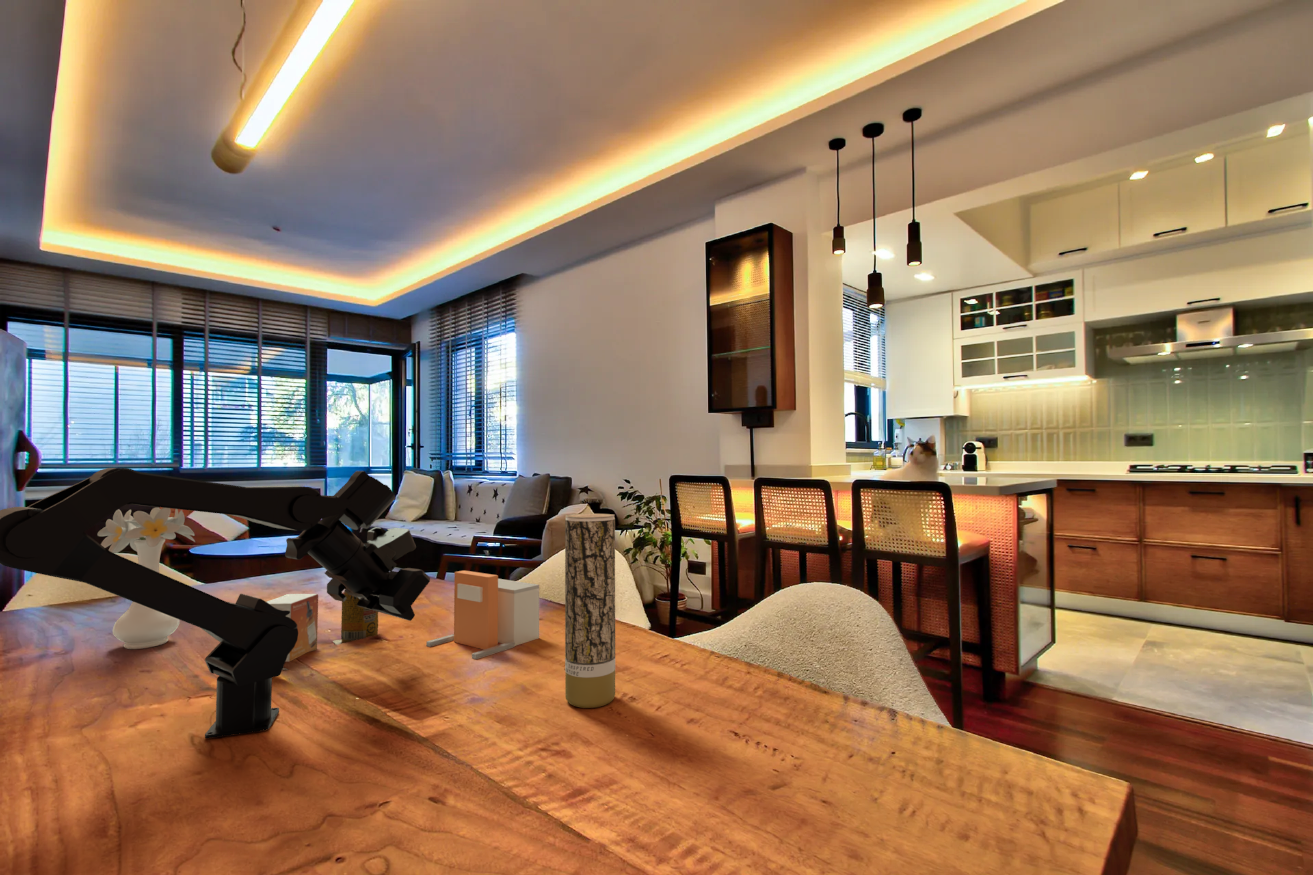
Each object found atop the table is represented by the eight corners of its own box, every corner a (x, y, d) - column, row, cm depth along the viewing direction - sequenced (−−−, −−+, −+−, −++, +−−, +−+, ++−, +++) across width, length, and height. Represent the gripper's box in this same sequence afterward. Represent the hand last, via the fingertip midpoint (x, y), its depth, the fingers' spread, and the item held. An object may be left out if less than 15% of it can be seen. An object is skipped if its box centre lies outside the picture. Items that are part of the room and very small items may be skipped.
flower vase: (147, 631, 120) (151, 503, 121) (213, 639, 114) (217, 504, 115) (65, 650, 108) (70, 507, 109) (134, 660, 102) (139, 509, 103)
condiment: (374, 635, 116) (375, 571, 117) (387, 644, 110) (388, 577, 110) (332, 642, 112) (333, 576, 112) (343, 652, 105) (344, 582, 106)
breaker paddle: (485, 651, 100) (486, 577, 101) (451, 642, 106) (452, 572, 106) (497, 647, 102) (498, 575, 103) (463, 639, 108) (464, 570, 108)
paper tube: (607, 711, 79) (607, 517, 80) (557, 707, 80) (558, 517, 82) (621, 692, 86) (620, 513, 87) (574, 689, 87) (574, 513, 88)
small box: (289, 671, 96) (290, 603, 96) (253, 671, 96) (255, 603, 96) (318, 655, 104) (319, 592, 104) (285, 655, 104) (287, 593, 104)
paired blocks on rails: (448, 679, 92) (448, 606, 92) (394, 662, 100) (395, 595, 100) (544, 646, 108) (544, 584, 108) (492, 634, 116) (492, 577, 116)
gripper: (419, 513, 86) (481, 580, 94) (348, 509, 97) (410, 570, 105) (363, 578, 79) (436, 644, 87) (294, 566, 90) (364, 626, 98)
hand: (411, 617), depth 95 cm, fingers closed
